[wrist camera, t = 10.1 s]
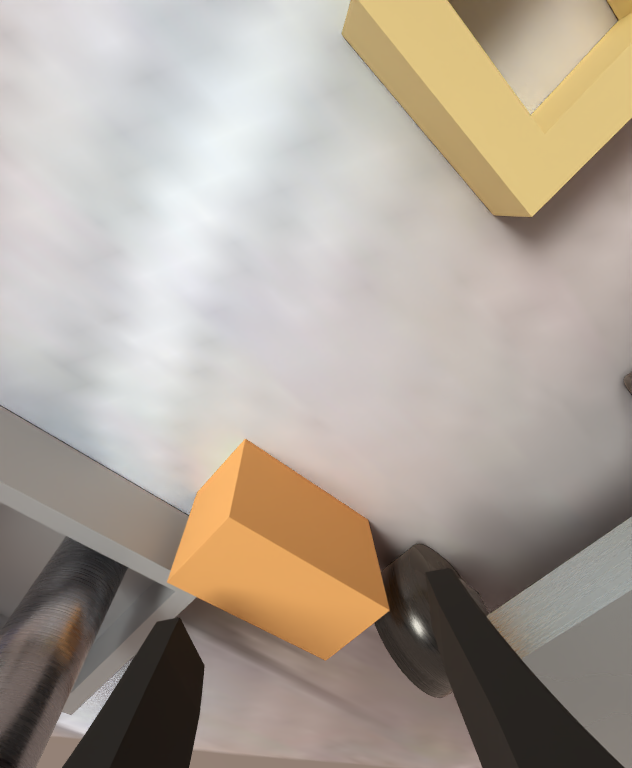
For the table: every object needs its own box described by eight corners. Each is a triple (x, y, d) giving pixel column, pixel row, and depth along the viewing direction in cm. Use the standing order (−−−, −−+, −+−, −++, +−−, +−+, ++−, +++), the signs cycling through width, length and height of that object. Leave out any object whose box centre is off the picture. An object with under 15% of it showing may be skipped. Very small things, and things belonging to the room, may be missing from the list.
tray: (-114, 560, 15) (-186, 621, 13) (-11, 399, 13) (-77, 441, 11) (99, 650, 18) (71, 715, 16) (218, 533, 16) (205, 589, 13)
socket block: (341, 33, 10) (353, -7, 8) (547, -249, 8) (624, -385, 6) (493, 215, 11) (531, 216, 10) (686, 16, 10) (776, -27, 8)
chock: (197, 490, 15) (166, 582, 11) (245, 437, 14) (229, 516, 10) (318, 561, 17) (326, 660, 13) (367, 517, 16) (389, 610, 12)
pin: (43, 550, 15) (-209, 895, 7) (80, 493, 14) (-168, 823, 6) (124, 584, 16) (-29, 922, 8) (163, 532, 15) (31, 862, 7)
